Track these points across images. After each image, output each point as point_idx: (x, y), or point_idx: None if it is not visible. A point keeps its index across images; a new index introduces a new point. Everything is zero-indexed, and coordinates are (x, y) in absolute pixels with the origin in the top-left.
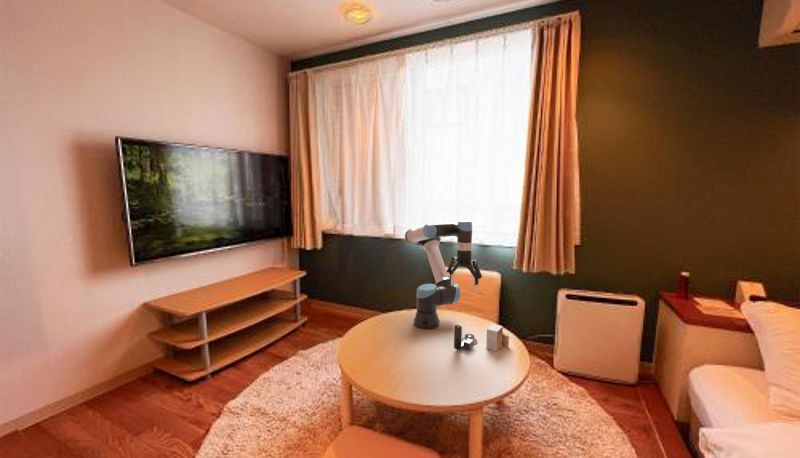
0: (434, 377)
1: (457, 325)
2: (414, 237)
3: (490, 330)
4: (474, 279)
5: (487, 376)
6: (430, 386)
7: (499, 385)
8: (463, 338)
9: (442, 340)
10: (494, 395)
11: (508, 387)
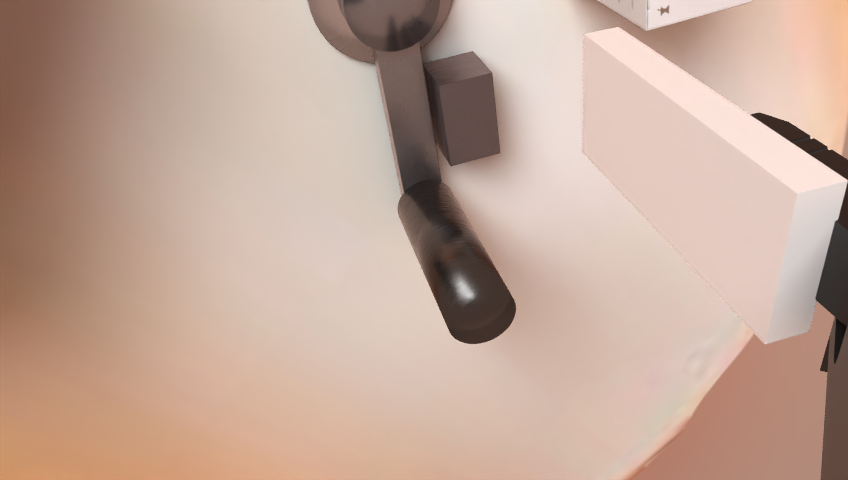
0: (492, 432)
1: (463, 306)
2: None
3: (682, 20)
4: (801, 331)
5: None
6: (520, 471)
7: None
8: (317, 4)
9: (208, 167)
10: None
11: None
